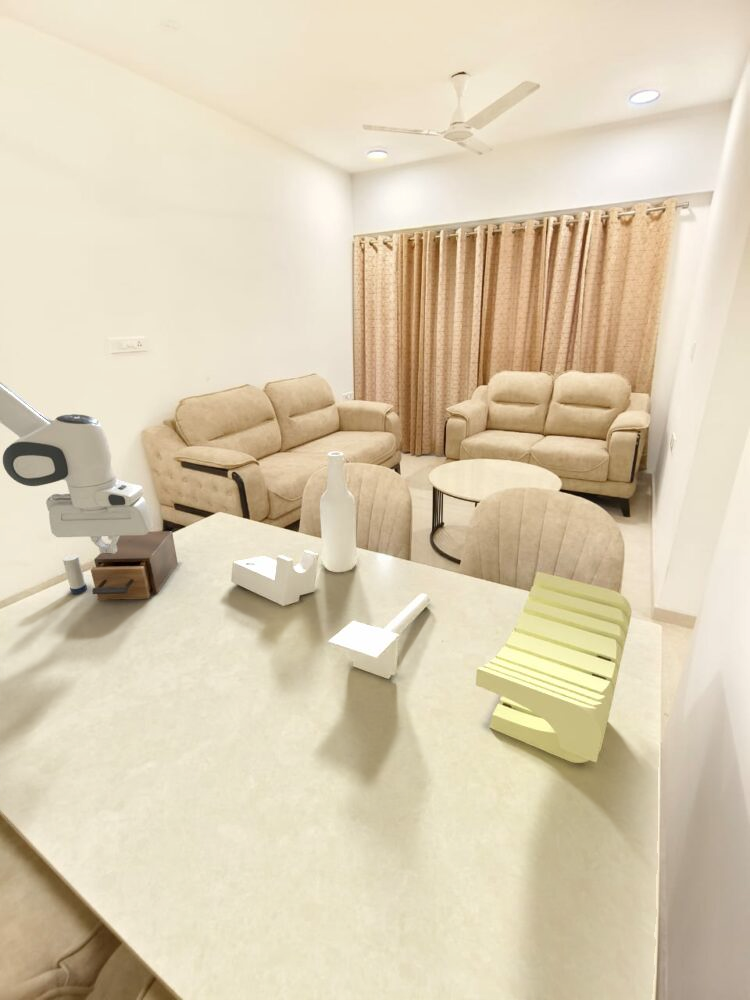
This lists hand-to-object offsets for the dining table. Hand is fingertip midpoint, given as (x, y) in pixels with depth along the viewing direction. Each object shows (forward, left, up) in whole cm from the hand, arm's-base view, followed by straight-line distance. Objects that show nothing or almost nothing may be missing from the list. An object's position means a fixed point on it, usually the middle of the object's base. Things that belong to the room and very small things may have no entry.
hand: (109, 552), depth 108 cm
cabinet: (0, +12, -14) cm, 18 cm away
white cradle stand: (+34, +7, -14) cm, 37 cm away
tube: (-13, +7, -14) cm, 20 cm away
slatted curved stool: (+85, -37, -14) cm, 94 cm away
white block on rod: (+61, -16, -14) cm, 64 cm away
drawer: (0, +6, -13) cm, 14 cm away
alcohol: (+49, +17, -14) cm, 54 cm away
